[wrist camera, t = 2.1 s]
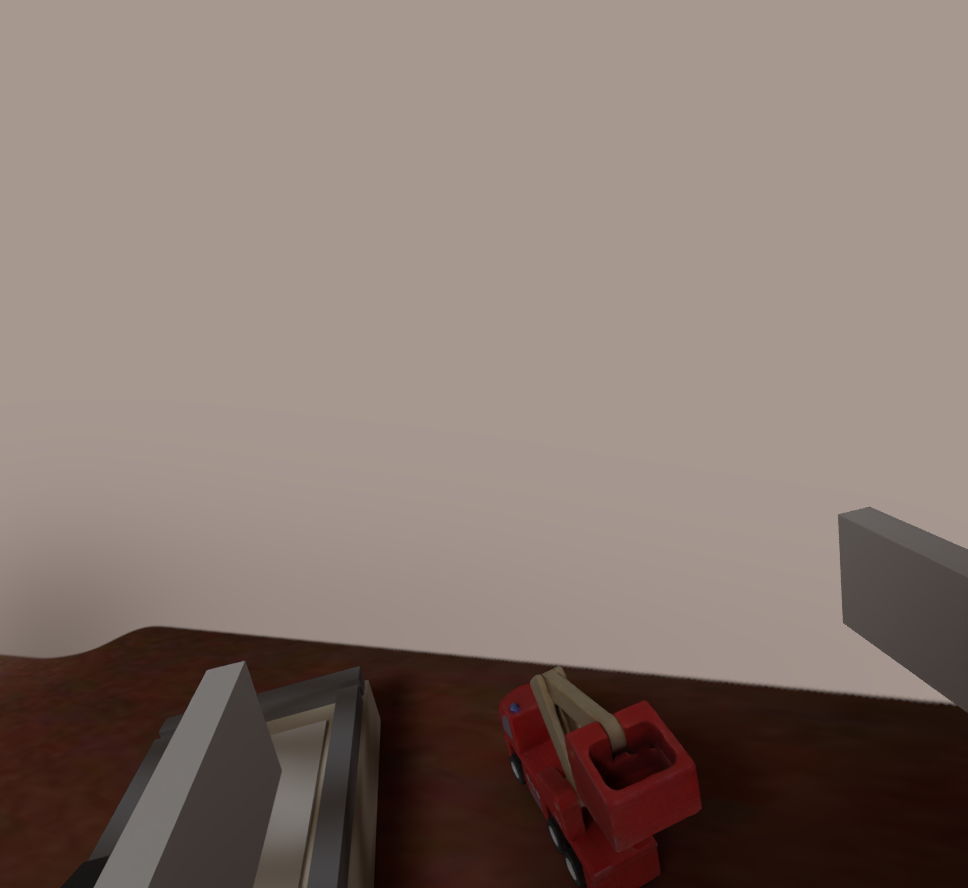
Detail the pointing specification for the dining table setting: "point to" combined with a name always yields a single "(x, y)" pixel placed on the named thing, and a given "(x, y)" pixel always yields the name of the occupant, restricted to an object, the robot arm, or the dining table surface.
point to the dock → (304, 784)
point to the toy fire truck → (598, 778)
